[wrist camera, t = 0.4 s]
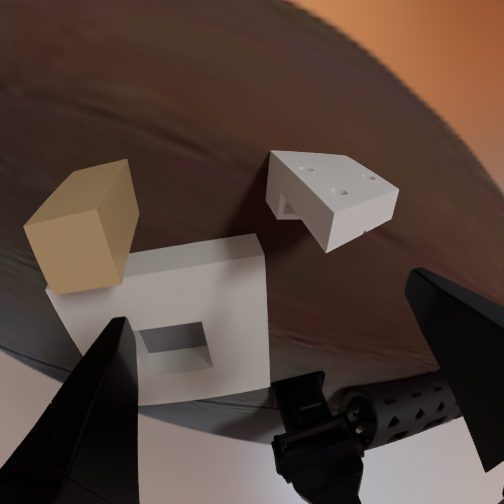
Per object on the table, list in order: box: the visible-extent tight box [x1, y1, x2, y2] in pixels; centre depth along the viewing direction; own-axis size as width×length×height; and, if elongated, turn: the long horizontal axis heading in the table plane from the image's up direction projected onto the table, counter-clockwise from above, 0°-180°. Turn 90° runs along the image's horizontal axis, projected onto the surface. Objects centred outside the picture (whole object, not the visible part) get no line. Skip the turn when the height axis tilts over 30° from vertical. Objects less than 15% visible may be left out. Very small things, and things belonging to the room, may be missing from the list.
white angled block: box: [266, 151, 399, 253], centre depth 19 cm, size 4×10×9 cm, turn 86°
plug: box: [24, 159, 139, 295], centre depth 16 cm, size 4×4×8 cm
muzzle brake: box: [338, 370, 463, 451], centre depth 39 cm, size 10×28×10 cm, turn 75°
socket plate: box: [46, 233, 270, 406], centre depth 25 cm, size 16×16×3 cm
